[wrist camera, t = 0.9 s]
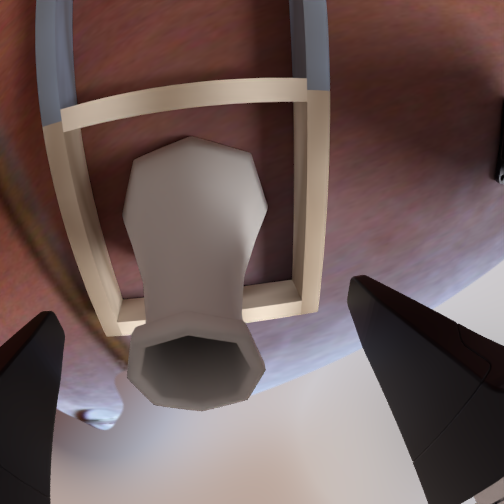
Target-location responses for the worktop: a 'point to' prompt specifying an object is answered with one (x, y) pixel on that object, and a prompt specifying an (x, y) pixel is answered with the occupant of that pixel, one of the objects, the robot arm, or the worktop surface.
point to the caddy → (179, 97)
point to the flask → (194, 273)
